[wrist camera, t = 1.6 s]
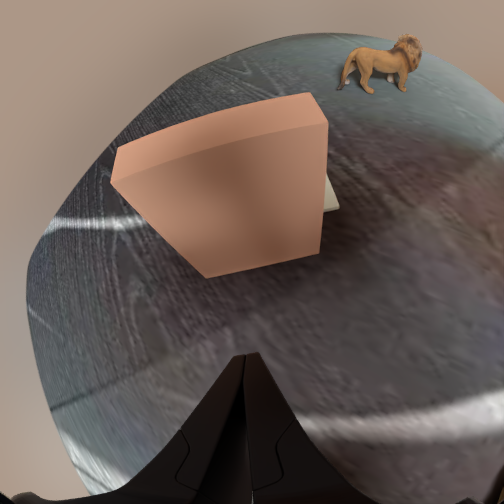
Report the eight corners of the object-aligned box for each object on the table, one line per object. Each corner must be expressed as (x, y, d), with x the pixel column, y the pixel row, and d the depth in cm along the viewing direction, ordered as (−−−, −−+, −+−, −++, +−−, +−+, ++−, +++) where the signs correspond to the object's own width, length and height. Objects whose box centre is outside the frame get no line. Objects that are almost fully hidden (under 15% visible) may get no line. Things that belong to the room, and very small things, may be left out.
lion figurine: (401, 73, 32) (408, 29, 24) (423, 90, 29) (433, 44, 21) (328, 84, 32) (326, 30, 24) (348, 102, 30) (351, 44, 22)
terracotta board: (319, 253, 23) (328, 122, 10) (205, 278, 24) (110, 183, 11) (311, 228, 24) (309, 92, 11) (203, 252, 25) (118, 147, 12)
